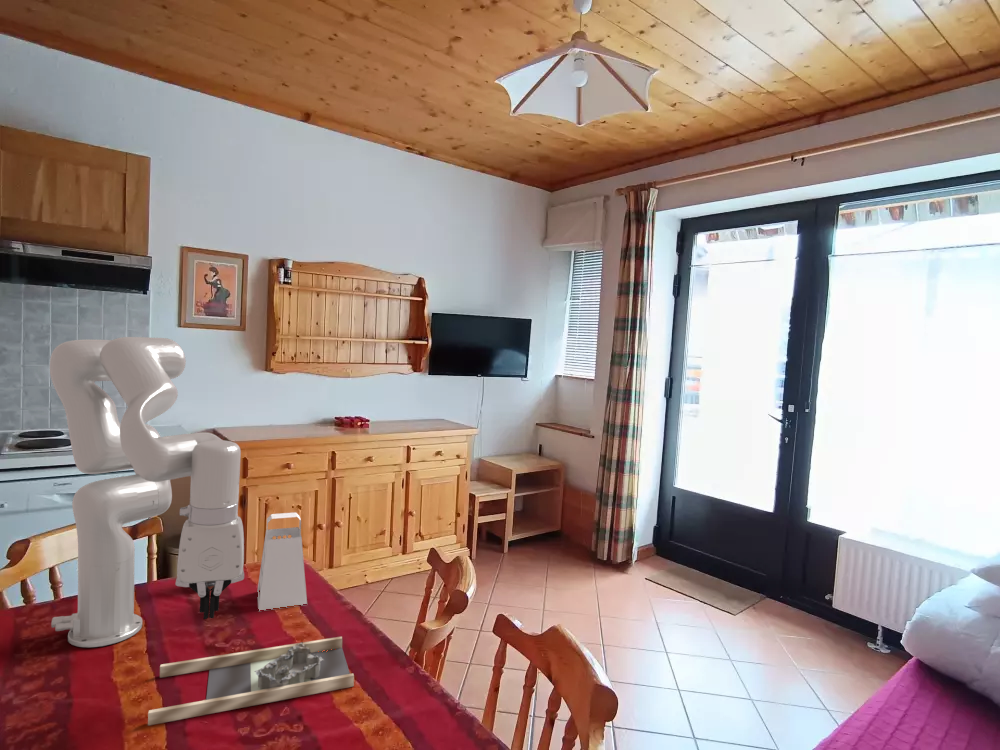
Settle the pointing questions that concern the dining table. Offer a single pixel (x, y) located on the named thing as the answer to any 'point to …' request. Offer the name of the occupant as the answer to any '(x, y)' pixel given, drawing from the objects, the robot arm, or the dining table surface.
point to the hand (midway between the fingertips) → (209, 614)
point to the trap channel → (253, 679)
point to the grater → (282, 568)
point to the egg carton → (289, 668)
